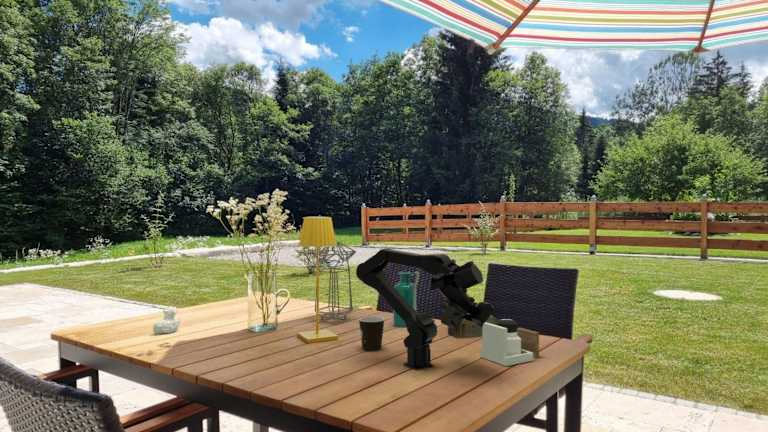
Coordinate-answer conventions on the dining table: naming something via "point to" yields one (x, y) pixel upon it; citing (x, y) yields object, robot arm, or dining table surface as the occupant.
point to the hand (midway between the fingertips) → (481, 326)
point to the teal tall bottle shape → (405, 294)
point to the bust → (167, 322)
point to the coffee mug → (371, 333)
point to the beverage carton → (470, 328)
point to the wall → (529, 341)
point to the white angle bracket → (500, 346)
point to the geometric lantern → (334, 279)
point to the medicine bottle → (511, 337)
